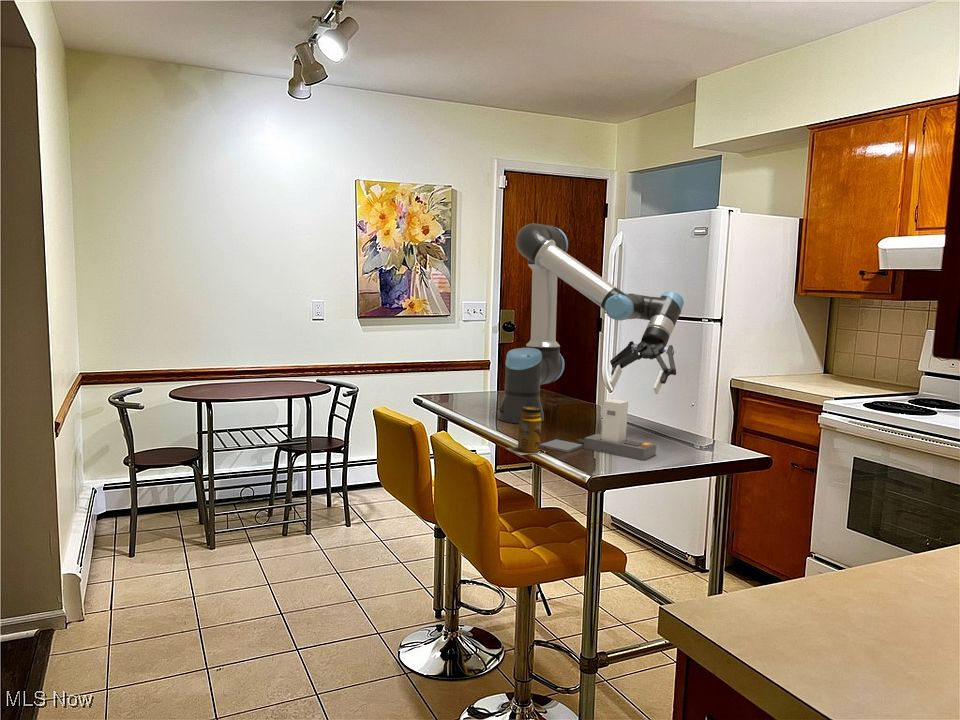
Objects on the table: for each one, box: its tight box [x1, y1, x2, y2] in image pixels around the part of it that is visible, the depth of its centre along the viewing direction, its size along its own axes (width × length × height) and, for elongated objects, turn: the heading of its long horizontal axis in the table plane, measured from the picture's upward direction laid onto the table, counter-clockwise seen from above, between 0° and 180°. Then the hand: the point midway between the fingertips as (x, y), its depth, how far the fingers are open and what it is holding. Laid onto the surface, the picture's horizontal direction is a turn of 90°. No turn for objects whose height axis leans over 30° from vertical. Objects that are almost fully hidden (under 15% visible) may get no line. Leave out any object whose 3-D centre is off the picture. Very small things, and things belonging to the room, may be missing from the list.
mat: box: [540, 438, 584, 453], centre depth 202 cm, size 9×9×1 cm
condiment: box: [505, 406, 546, 456], centre depth 195 cm, size 7×8×12 cm
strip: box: [576, 433, 657, 461], centre depth 201 cm, size 22×8×4 cm, turn 53°
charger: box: [601, 398, 629, 444], centre depth 200 cm, size 5×5×12 cm
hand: (633, 387), depth 207 cm, fingers open, 13 cm apart
